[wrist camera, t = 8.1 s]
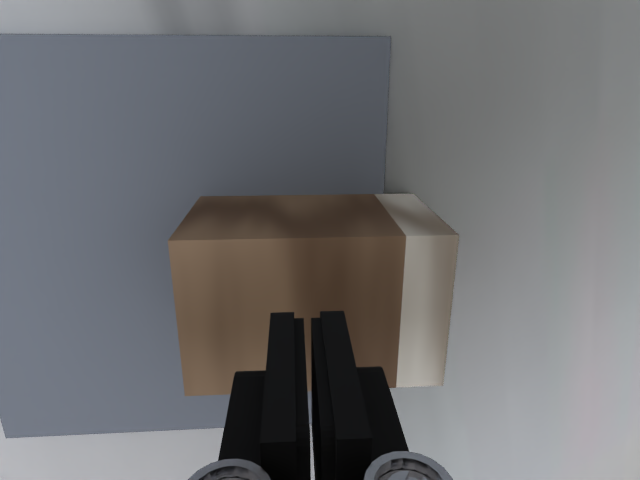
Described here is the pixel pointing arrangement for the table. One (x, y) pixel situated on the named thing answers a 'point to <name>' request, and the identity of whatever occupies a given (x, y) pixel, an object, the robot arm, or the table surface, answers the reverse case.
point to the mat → (151, 199)
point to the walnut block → (312, 282)
